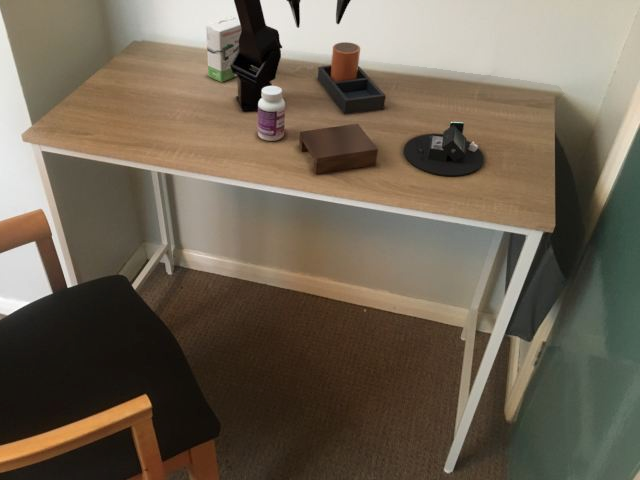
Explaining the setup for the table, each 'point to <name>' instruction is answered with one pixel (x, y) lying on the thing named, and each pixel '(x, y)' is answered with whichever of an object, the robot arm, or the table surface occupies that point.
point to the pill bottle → (271, 114)
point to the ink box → (222, 47)
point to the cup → (345, 61)
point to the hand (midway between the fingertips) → (317, 25)
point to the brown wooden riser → (338, 148)
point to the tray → (352, 92)
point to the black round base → (444, 153)
